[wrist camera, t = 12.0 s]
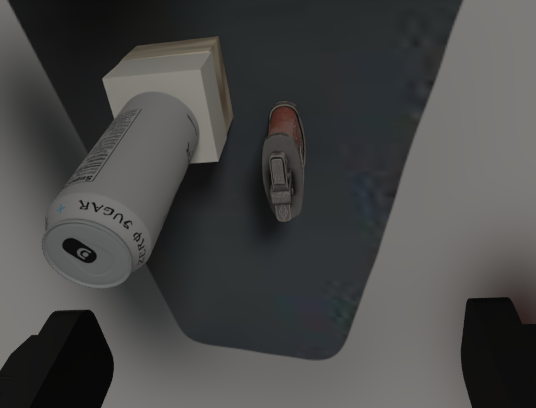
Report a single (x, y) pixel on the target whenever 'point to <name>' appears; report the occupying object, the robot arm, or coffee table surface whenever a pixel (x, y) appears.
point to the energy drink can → (121, 193)
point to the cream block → (175, 93)
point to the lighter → (284, 161)
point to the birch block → (190, 48)
